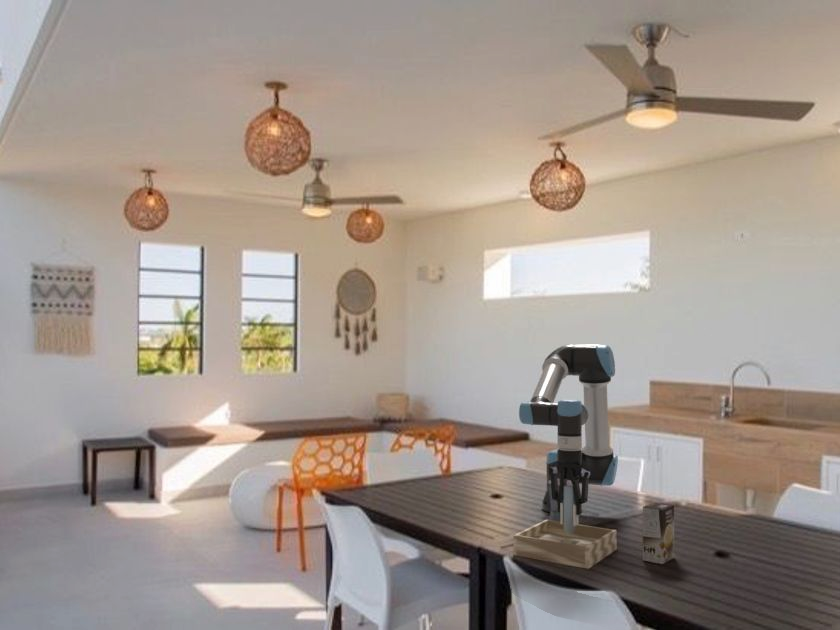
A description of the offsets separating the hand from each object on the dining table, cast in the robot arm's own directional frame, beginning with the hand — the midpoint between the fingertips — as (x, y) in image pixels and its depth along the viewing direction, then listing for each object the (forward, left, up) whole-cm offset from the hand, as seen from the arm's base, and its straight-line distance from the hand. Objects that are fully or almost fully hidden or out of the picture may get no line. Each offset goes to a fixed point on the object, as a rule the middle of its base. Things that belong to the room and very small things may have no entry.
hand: (569, 523), depth 237 cm
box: (+3, 0, -8) cm, 9 cm away
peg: (0, 0, -2) cm, 2 cm away
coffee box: (-6, +26, -8) cm, 28 cm away
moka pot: (-18, -11, -8) cm, 23 cm away
